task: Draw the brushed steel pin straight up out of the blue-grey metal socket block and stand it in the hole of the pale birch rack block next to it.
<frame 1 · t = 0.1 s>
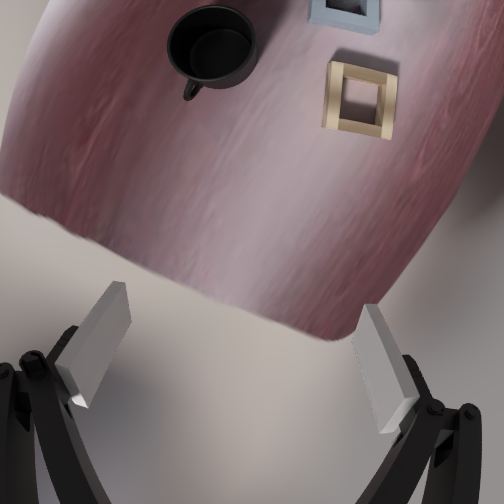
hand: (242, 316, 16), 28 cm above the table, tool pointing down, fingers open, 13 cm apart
socket block: (341, 2, 29), on the table
mug: (216, 64, 34), on the table
rack block: (356, 101, 35), on the table
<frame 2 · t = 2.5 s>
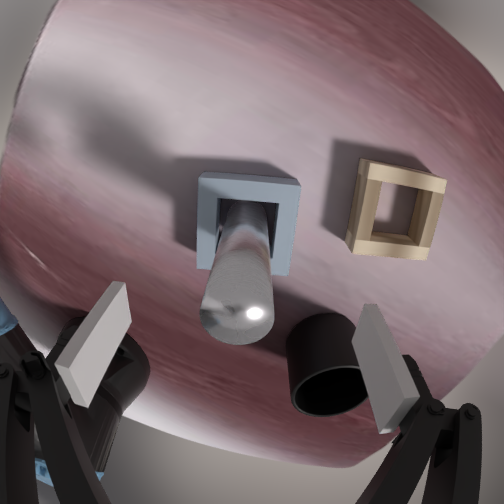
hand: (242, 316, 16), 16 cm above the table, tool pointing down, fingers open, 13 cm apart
pin: (243, 252, 23), in the socket block
socket block: (246, 218, 30), on the table
mug: (329, 343, 38), on the table
rack block: (390, 206, 29), on the table
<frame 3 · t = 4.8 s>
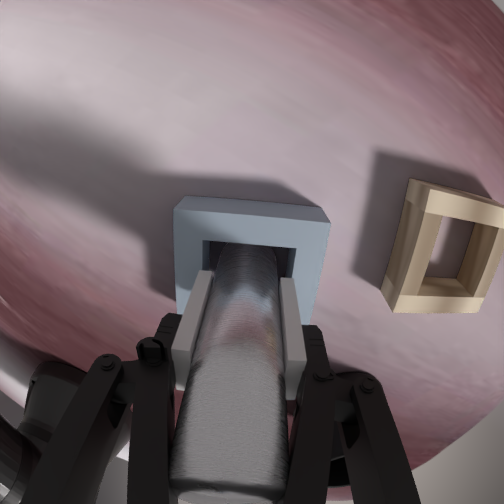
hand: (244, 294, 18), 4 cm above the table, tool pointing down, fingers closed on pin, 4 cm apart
pin: (240, 338, 14), in the socket block, touching gripper
socket block: (248, 262, 21), on the table
mug: (347, 400, 29), on the table
rack block: (442, 243, 20), on the table
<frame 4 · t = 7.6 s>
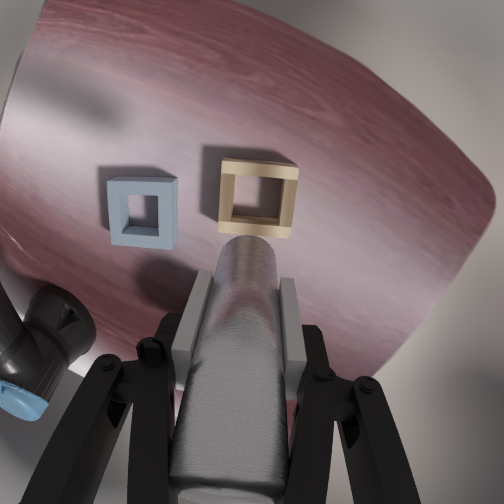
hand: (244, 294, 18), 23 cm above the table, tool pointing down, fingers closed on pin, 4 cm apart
pin: (240, 336, 14), point 27 cm above the table, touching gripper
socket block: (146, 208, 40), on the table
rack block: (257, 194, 39), on the table
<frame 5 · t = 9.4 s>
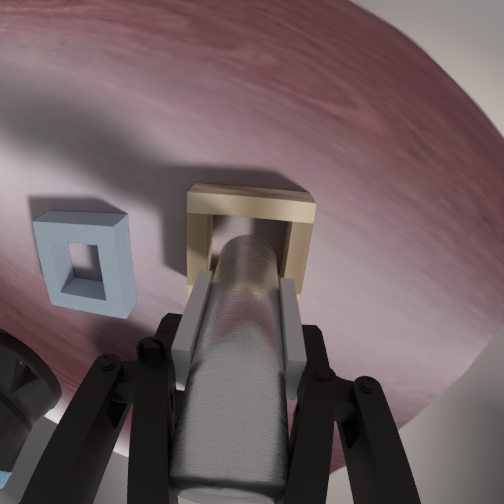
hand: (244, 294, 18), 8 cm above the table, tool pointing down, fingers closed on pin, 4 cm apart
pin: (240, 336, 14), point 12 cm above the table, touching gripper
socket block: (91, 256, 26), on the table
rack block: (248, 239, 25), on the table
when the fingers open (6 cm above the table, at t = 10.9 s): pin stays where it is, resting in rack block.
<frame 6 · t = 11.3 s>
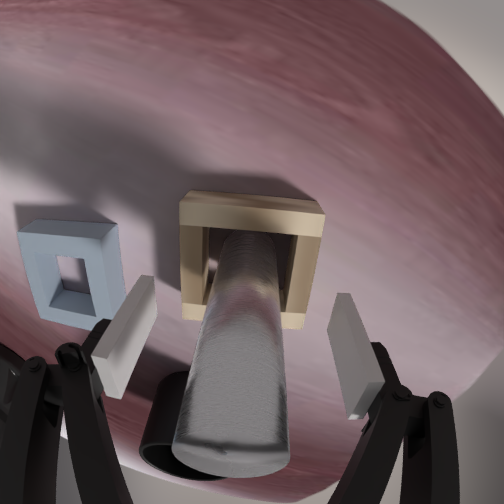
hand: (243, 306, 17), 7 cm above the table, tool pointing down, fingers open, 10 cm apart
pin: (242, 319, 16), in the rack block
socket block: (80, 268, 24), on the table
mug: (209, 399, 31), on the table
rack block: (248, 253, 23), on the table
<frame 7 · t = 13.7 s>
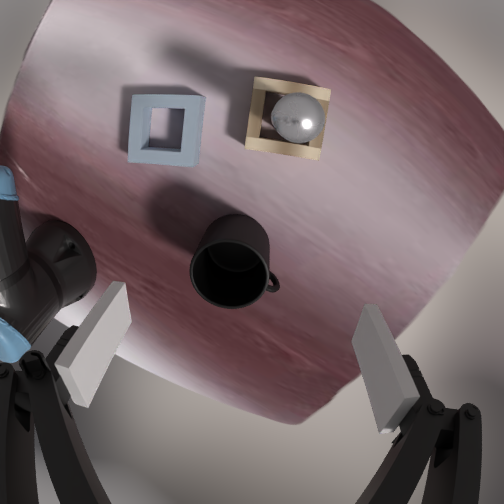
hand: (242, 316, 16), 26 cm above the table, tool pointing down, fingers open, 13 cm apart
pin: (291, 117, 28), in the rack block
socket block: (169, 128, 36), on the table
mug: (244, 248, 44), on the table
rack block: (286, 117, 35), on the table
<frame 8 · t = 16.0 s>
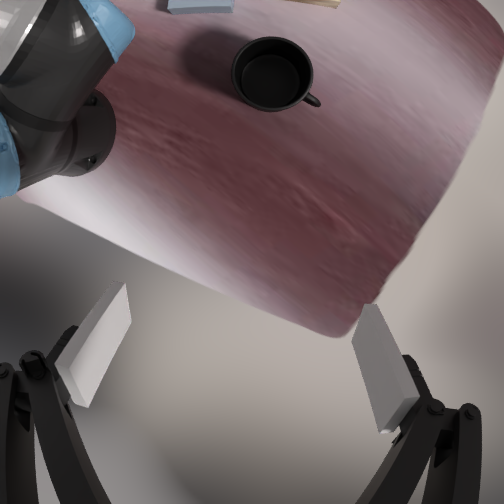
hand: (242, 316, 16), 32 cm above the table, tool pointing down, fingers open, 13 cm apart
mug: (278, 85, 38), on the table
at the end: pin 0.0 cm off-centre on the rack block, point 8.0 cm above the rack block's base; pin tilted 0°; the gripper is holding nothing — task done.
